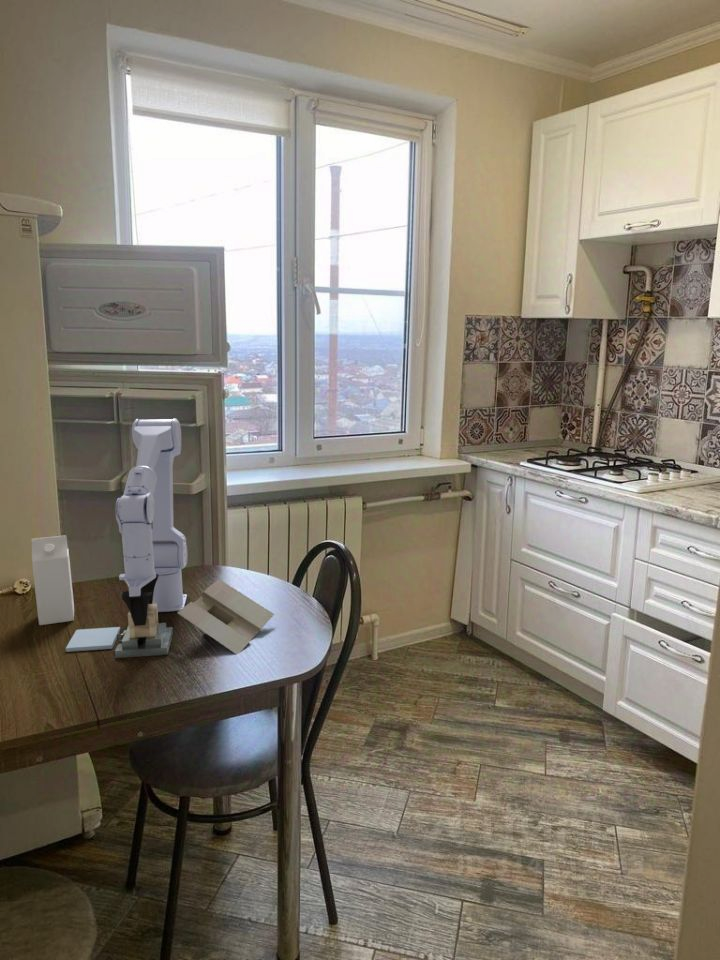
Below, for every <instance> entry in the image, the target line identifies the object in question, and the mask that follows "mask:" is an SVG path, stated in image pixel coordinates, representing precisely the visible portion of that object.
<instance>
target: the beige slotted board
mask: <svg viewBox="0 0 720 960" xmlns="http://www.w3.org/2000/svg"><path fill="white" fill-rule="evenodd" d="M177 614H178V615H179V616H181V617H182V618H184V619H185V620H187V621H188V622H190V623H191V624H193V625H194V626H195V627H196V628H198V629H200V630H201V631H202V632H204V634H206V635H208V636H209V637H211V638H212V639H214V640H215V641H216V642H218V643H219V644H221V645H222V646H224V647H225V648H226V649H228V650H229V651H231V652H232V653H233V654H235V655H239V654H240V653H242V651H243V650H244V648H245V647H247V645H249V643H250V642H251V640H253V639H254V638H255V636H256V635H257V634H258V633H259V632H260V631H261V630H262V629H263V628H264V627H265V626H266V625H267V623H268V622H270V620H271V619H272V618H273V617H274V616H275V613H274V612H272V611H271V610H269V609H268V608H265V607H264V606H262V605H260V603H258V602H256V601H254V599H251V598H250V597H248V596H247V595H245V594H244V593H242V592H241V591H240V590H237V589H236V588H235V587H233V586H230V584H228V583H226V582H225V581H223V580H221V579H219V578H218V579H217V580H216V581H214V582H213V583H212V584H210V586H208V587H207V588H206V589H204V590H203V591H202V593H201V595H200V596H199V598H197V599H196V600H195V601H194V602H193V601H190V602H189V603H187V604H186V605H185V606H184V608H183V609H181V610H180V611H177Z"/></svg>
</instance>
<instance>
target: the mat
mask: <svg viewBox="0 0 720 960" xmlns="http://www.w3.org/2000/svg"><path fill="white" fill-rule="evenodd" d="M120 633H121V626H114V627H99V628H84V629H83V628H82V629H81V628H80V629H75V631H74V634H73V635H72V637H71V638H70V640H69V641H68V644H67V645H66V647H65V652H66V653H68V652H69V653H70V652H80V651H81V652H82V651H85V652H86V651H98V650H112V649H113V648H114V646H115V643H116V641H117V634H120Z"/></svg>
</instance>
